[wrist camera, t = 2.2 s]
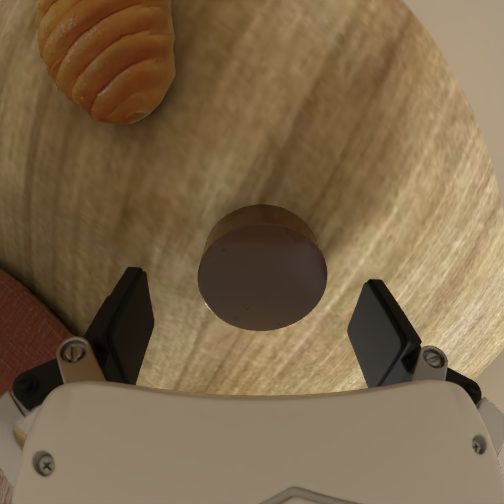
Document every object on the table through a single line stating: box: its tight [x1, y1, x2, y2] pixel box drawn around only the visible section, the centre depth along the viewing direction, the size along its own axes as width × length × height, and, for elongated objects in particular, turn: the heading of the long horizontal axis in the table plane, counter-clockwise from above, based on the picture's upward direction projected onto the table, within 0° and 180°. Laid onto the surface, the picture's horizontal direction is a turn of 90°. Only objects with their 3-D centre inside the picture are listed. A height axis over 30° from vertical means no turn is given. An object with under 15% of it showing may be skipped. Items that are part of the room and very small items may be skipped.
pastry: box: [36, 0, 176, 125], centre depth 7 cm, size 9×7×4 cm
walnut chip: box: [198, 205, 327, 331], centre depth 13 cm, size 6×6×2 cm
